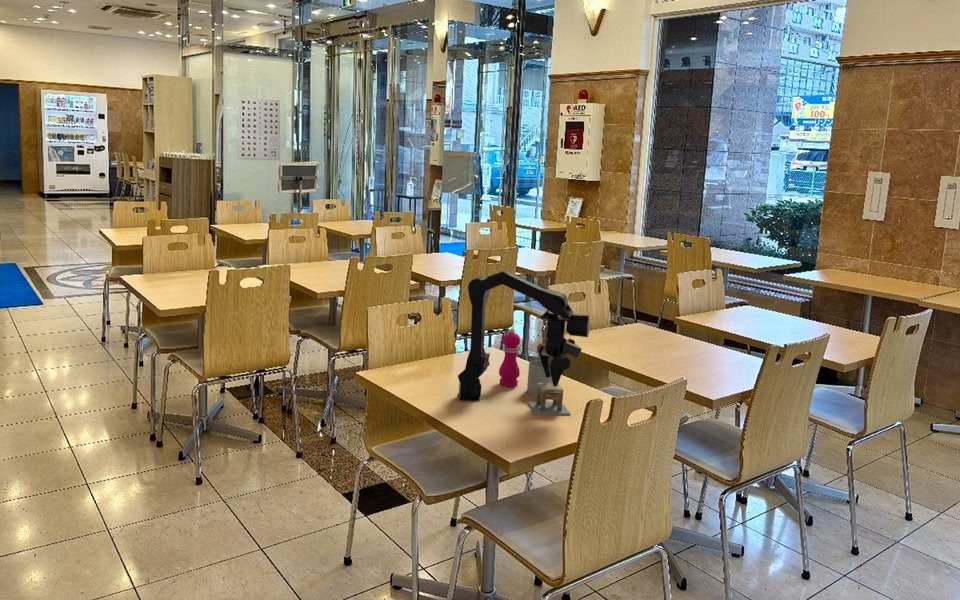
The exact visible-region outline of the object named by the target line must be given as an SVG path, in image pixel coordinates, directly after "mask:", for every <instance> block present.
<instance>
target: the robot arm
mask: <svg viewBox="0 0 960 600" xmlns="http://www.w3.org/2000/svg"><path fill="white" fill-rule="evenodd" d="M502 285H503V286H505V287H506V288H507V287H508V288H509V289H512V290H513V291H516V292H518V293H520V294H522V295H523V296H526V297H528V298H531V299H532V300H535V301H536V302H537V303H539V304H540V305H541V306H542V308H544V309H545V310H546V311H545V312H544V313H542V315H540V318H541V319H544V320H546V326H545V327H546V329H545V334H543V338H544V339H545V341H544V342H545V343H543V342H542V343H539V344H538V345H537V347H536V352H537V353H538V354H537V356H538V357H539V359H540V361H541V363H542V366H543V369H544V372H545V375H546V377H547V378H549V377H550V375H551V379H552V383H553V386H557V385H558V384H559V382H560V380H561V377H562V375H563V373H564V371H566V370H569V369H571V365H572V361H571V360H570V359H569V357H568V356H567V355H570V356H573V357H574V358H576V359H579V357H580V354H581V353H582V350H583V348H582V347H580V346H579V345H577V344H576V341H575V340H574V339H572V338H570V337H569V338H568V339H567V338H566V337H565V332H566V333H567V334H569V336H572V337H574V336H575V337H582V338H588V337H589V335H590V334H589V333H590V330H591V329H590V328H591V324H590V314H577V313H574V311H573V310H572V308H571V306H570V305H569V300H568V299H569V298H568V297H567V295H566V293H563V292H560V291H557V290H553V289H549V288H548V289H547V288H544V287H540V286H538V285H537V284H535V283H533V282H530V281H528V280H526V279H524V278H521V277H520V276H517V275H516V274H513V273H512V272H510V271H508V270H506V269H505V270H501V271H500V272H498V273H494V274H491V275H488V276H484V275H479V276H477V277H475V278H474V279H472V280H471V281H469V282H468V286H467V290H468V291H467V292H468V298H469V301H470V304H471V323H470V324H471V325H470V327H471V328H470V347H469V348H470V349H469V352H468V355H467V359H466V361H465V362H466V363H465V368H464V369H463V370H462V371H461V372H459V374H458V375H457V378H458V392H457V396H458V399H459V401H481V396H482V383H481V381H480V377H481V376H482V375H483V374H484V373H485V372H486V371H487V369H488V367H490V365H491V364H490V360H489V359H490V355H491V353H490V352H488V353H486V351H485V329H486V327H485V326H486V306H487V305H486V304H487V303H488V299H489V296H490V291H491V290H492V289H494V288H496V287H499V286H502Z"/></svg>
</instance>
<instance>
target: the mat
mask: <svg viewBox="0 0 960 600" xmlns="http://www.w3.org/2000/svg"><path fill="white" fill-rule="evenodd" d="M557 403H558V402H557ZM527 404H528V405H529V407H530V409H531V410H532V412H533V414H535V416H571V411H569V410H568V409H567V407H566V406H565V405H564V403H563V402H562V411H558V410H557V405H553V401H546V403H545V411H541V410H540V406H541V405H537V404H536V401H528V402H527Z"/></svg>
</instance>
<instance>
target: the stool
mask: <svg viewBox="0 0 960 600" xmlns="http://www.w3.org/2000/svg"><path fill="white" fill-rule="evenodd" d="M563 398H564V389H563V387H562V386H561V385H560V383H558V385H557V386H553V383H538V388H537V396H536V401H535V402H536V404H537V405H541V406H540V410H541V411H545V403H546V402H547V401H548V400H552V402H553V405H557V410H558V411H562V403H563ZM546 400H547V401H546ZM557 402H558V403H557Z"/></svg>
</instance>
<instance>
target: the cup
mask: <svg viewBox="0 0 960 600" xmlns="http://www.w3.org/2000/svg"><path fill="white" fill-rule="evenodd" d="M538 383H552V379H551V375H550V377H549V378H547V377H546V375H545V372H544V369H543V366H542V363H541V361H540V360H536V359H535V360H531V361H529V362H528V374H527V387H526V393H527V394H529V395H531V396H535V397H537V388H538Z"/></svg>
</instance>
